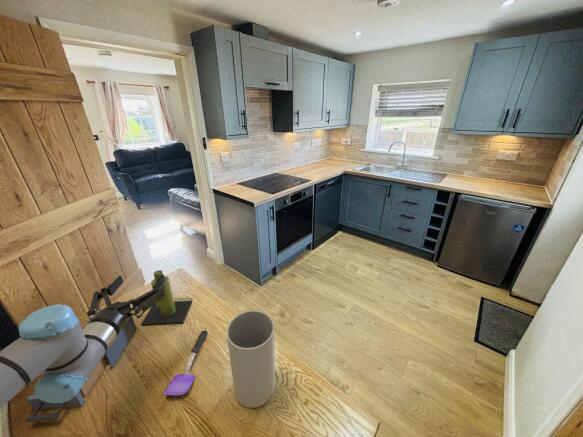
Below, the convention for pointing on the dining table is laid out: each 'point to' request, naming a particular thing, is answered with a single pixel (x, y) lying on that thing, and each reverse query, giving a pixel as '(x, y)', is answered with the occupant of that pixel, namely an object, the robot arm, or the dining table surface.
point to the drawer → (74, 402)
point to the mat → (176, 318)
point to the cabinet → (120, 341)
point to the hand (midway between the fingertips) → (142, 278)
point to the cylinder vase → (252, 357)
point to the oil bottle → (167, 302)
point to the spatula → (184, 381)
